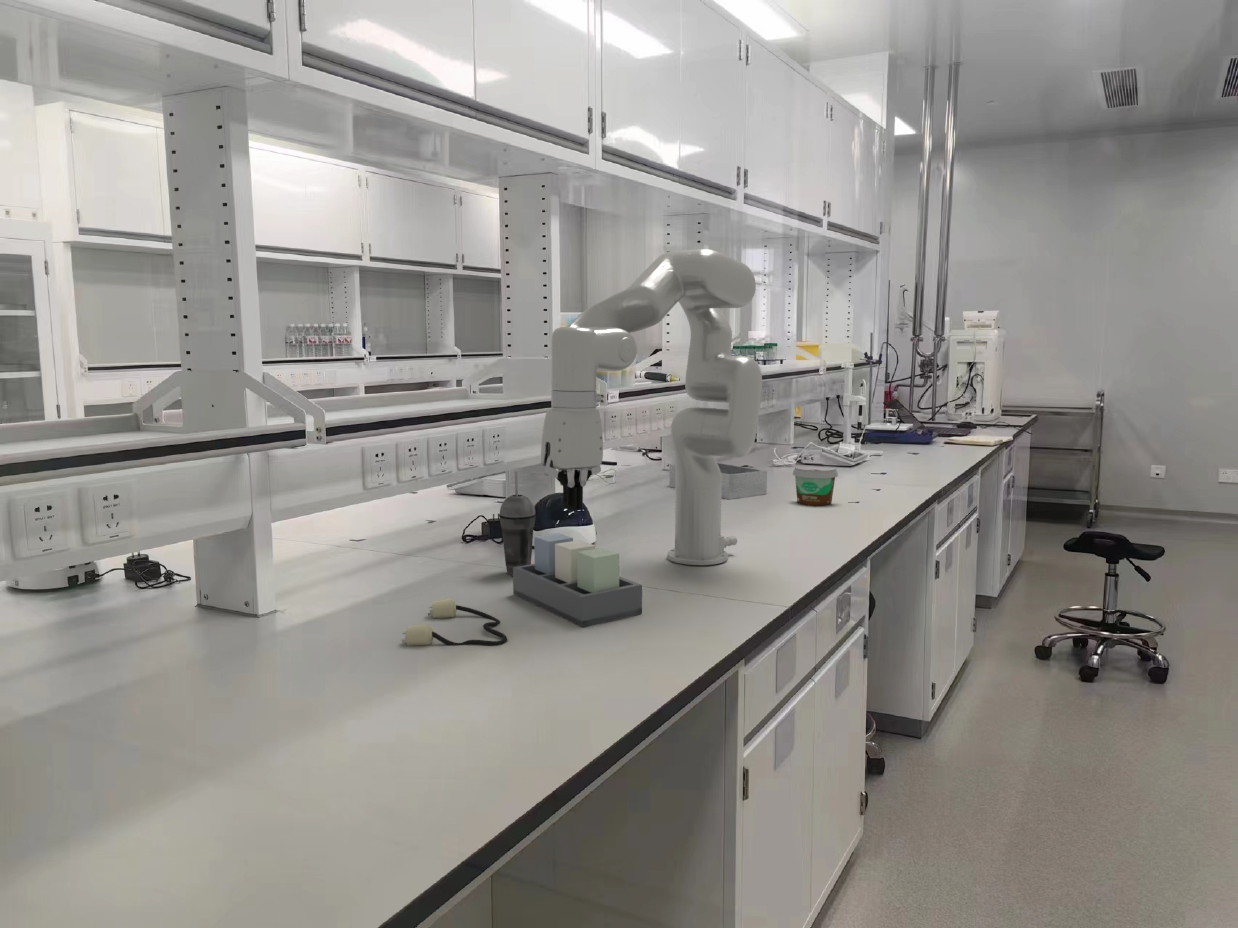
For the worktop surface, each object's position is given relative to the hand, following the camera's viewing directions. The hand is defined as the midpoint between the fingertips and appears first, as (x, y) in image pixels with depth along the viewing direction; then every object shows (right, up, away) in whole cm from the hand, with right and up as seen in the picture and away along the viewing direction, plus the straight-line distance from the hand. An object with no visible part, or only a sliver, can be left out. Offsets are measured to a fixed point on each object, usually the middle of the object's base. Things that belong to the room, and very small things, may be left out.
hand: (572, 508), depth 150 cm
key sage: (+4, -13, -3) cm, 14 cm away
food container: (+62, -4, +94) cm, 113 cm away
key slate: (-4, -11, +8) cm, 14 cm away
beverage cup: (-12, -14, +23) cm, 29 cm away
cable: (-17, -19, -10) cm, 28 cm away
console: (0, -17, +3) cm, 17 cm away
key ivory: (0, -12, +2) cm, 12 cm away
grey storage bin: (+38, 0, +117) cm, 123 cm away
